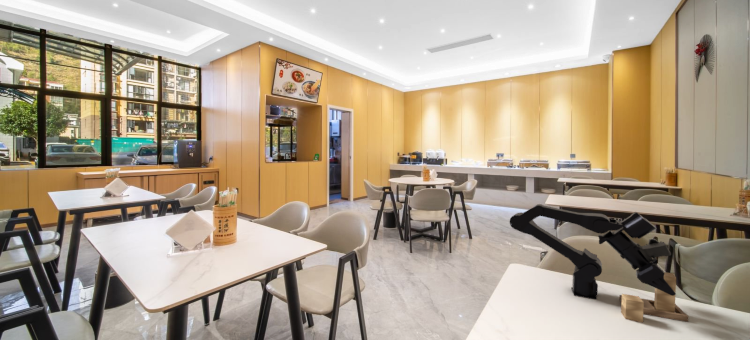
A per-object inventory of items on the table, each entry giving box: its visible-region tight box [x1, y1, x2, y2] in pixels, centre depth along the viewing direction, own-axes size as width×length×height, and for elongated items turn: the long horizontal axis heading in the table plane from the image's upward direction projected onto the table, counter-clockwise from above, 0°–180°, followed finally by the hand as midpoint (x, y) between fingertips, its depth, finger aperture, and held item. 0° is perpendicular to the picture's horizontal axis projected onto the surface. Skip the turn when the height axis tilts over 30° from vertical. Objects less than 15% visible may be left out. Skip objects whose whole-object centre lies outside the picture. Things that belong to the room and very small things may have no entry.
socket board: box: [619, 294, 689, 322], centre depth 93 cm, size 14×8×2 cm, turn 64°
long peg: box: [653, 271, 677, 313], centre depth 91 cm, size 4×4×12 cm
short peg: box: [620, 293, 644, 323], centre depth 89 cm, size 4×4×6 cm
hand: (671, 289), depth 90 cm, fingers open, 9 cm apart
